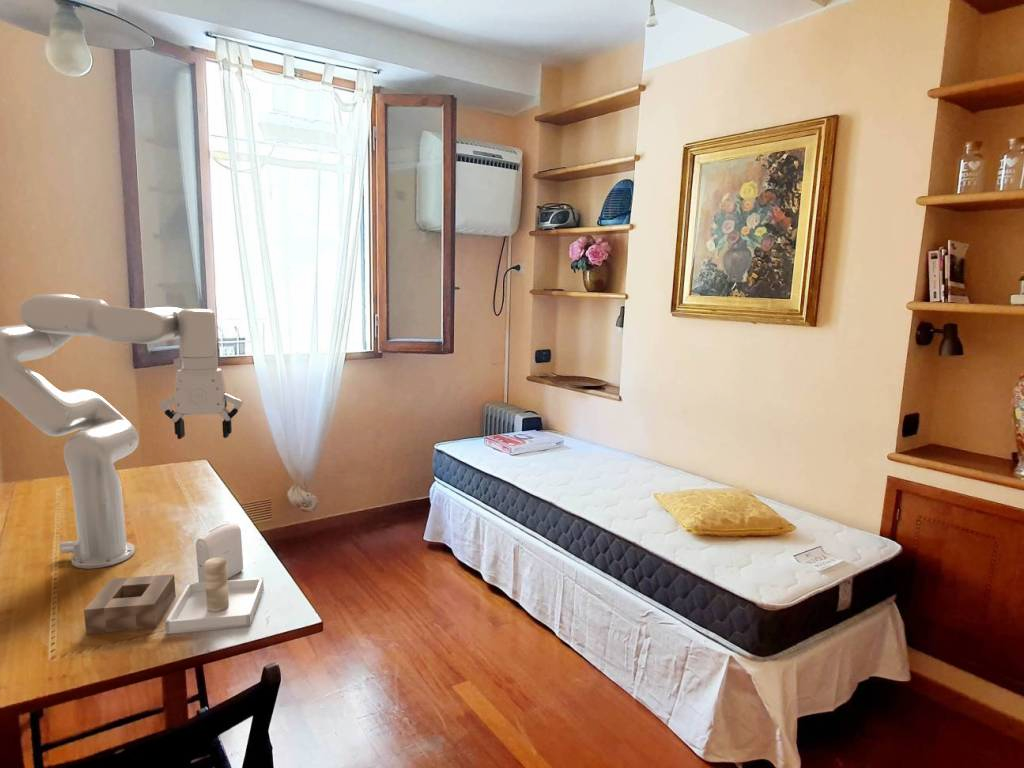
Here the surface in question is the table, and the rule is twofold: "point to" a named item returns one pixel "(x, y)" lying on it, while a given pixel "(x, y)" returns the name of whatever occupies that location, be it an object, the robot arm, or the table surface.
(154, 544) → the table surface
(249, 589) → the tray
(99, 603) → the holder
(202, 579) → the photo printer
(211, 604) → the dowel
